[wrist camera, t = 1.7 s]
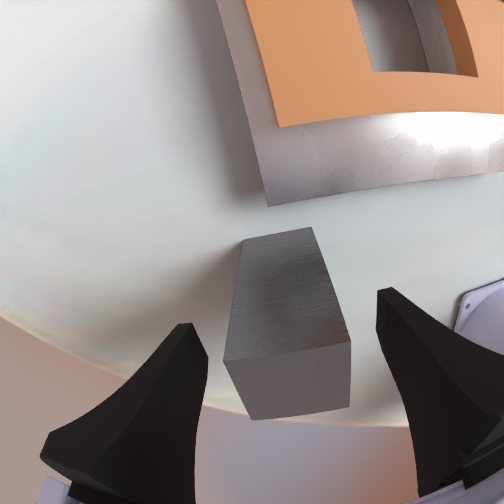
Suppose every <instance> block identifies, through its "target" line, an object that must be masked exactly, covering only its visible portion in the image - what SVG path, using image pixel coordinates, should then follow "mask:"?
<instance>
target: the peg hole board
mask: <svg viewBox="0 0 504 504" xmlns="http://www.w3.org/2000/svg"><path fill="white" fill-rule="evenodd" d="M407 1H408V3H409V6H410V9H411V11H412V14H413V17H414V20H415V23H416V26H417V29H418V32H419V36H420V39H421V43H422V46H423V50H424V54H425V58H426V62H427V66H428V70H429V73H443V74H454V75H458V74H457V70H456V65H455V61H454V57H453V53H452V49H451V45H450V42H449V38H448V35H447V32H446V28H445V25H444V22H443V19H442V16H441V14H440V11H439V8H438V5H437V3H436V0H407ZM216 3H217V6H218V10H219V13H220V17H221V20H222V24H223V28H224V31H225V35H226V38H227V42H228V46H229V49H230V53H231V57H232V61H233V64H234V68H235V72H236V76H237V80H238V83H239V87H240V91H241V95H242V99H243V103H244V107H245V111H246V115H247V119H248V123H249V127H250V131H251V135H252V139H253V143H254V147H255V152H256V156H257V160H258V164H259V168H260V173H261V177H262V181H263V186H264V190H265V194H266V199H267V203H268V207H271V206H276V205H281V204H286V203H291V202H296V201H302V200H307V199H313V198H318V197H324V196H329V195H335V194H341V193H347V192H353V191H359V190H365V189H371V188H378V187H384V186H391V185H398V184H404V183H412V182H419V181H426V180H434V179H442V178H450V177H458V176H467V175H476V174H486V173H496V172H504V115H498V114H485V113H466V112H413V113H393V114H378V115H367V116H357V117H348V118H339V119H332V120H324V121H317V122H311V123H305V124H299V125H293V126H287V127H282V128H279V127H277V122H276V118H275V114H274V110H273V105H272V101H271V97H270V93H269V89H268V85H267V81H266V77H265V74H264V70H263V66H262V62H261V59H260V55H259V51H258V48H257V44H256V41H255V37H254V34H253V30H252V27H251V23H250V20H249V17H248V13H247V10H246V7H245V3H244V0H216Z"/></svg>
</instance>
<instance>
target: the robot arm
mask: <svg viewBox="0 0 504 504" xmlns="http://www.w3.org/2000/svg"><path fill="white" fill-rule="evenodd" d="M376 332H377V335H378V339H379V342H380V345H381V349H382V352H383V354H384V356H385V359H386V361H387V363H388V366H389V368H390V370H391V373H392V375H393V377H394V380H395V382H396V385H397V387H398V389H399V392H400V394H401V397H402V400H403V403H404V406H405V410H406V414H407V418H408V422H409V427H410V431H411V436H412V441H413V447H414V453H415V460H416V470H417V482H418V494H419V498H418V499H415V500H413V501H410V502H407V503H404V504H504V280H502V281H499V282H496V283H494V284H491V285H488V286H485V287H483V288H480V289H477V290H474V291H471V292H468V293H466V294H465V295H464V296H463V298H462V301H461V305H460V309H459V313H458V317H457V321H456V325H455V328H454V331H452V330H451V329H449V328H448V327H446V326H445V325H443V324H442V323H440V322H439V321H437V320H436V319H434V318H433V317H431V316H430V315H429V314H427V313H426V312H424V311H423V310H422V309H420V308H419V307H418V306H416V305H415V304H414V303H412V302H411V301H410V300H409V299H407V298H406V297H405V296H403V295H402V294H401V293H399V292H398V291H397V290H396V289H394V288H393V287H390V288H385V289H381V290H377V318H376ZM207 373H208V355H207V353H206V351H205V349H204V347H203V345H202V343H201V341H200V339H199V337H198V335H197V333H196V330H195V328H194V326H193V324H192V323H184V324H178V325H177V326H176V327H175V328H174V329H173V330H172V331H171V333H170V334H169V335H168V336H167V337H166V339H165V340H164V341H163V342H162V343H161V344H160V346H159V347H158V348H157V349H156V350H155V352H154V353H153V354H152V355H151V356H150V357H149V359H148V360H147V361H146V362H145V363H144V364H143V365H142V366H141V367H140V368H139V369H138V370H137V372H136V373H135V374H134V375H133V376H132V377H131V378H130V379H129V380H128V381H127V382H126V383H125V384H124V385H123V386H122V387H120V388H119V389H118V390H117V391H116V392H115V393H113V394H112V395H111V396H110V397H108V398H107V399H106V400H104V401H103V402H102V403H100V404H99V405H98V406H96V407H95V408H94V409H92V410H91V411H89V412H88V413H86V414H85V415H83V416H81V417H80V418H78V419H76V420H74V421H73V422H71V423H69V424H67V425H65V426H62V427H60V428H58V429H56V430H54V431H52V432H50V433H49V435H48V437H47V439H46V442H45V444H44V446H43V449H42V451H41V453H40V458H41V460H42V461H43V462H44V463H46V464H47V465H48V466H50V467H51V468H52V469H54V470H55V471H57V472H59V473H60V474H61V475H63V476H65V477H66V478H68V479H69V480H71V481H72V483H71V486H69V485H67V484H65V483H63V482H61V481H59V480H57V479H55V478H53V477H51V476H49V475H46V477H45V480H44V482H43V485H42V488H41V491H40V494H39V497H38V500H37V502H36V504H196V503H195V476H194V467H195V445H196V433H197V425H198V421H199V416H200V411H201V407H202V402H203V397H204V392H205V387H206V382H207Z"/></svg>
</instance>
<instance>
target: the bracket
mask: <svg viewBox="0 0 504 504" xmlns="http://www.w3.org/2000/svg"><path fill="white" fill-rule="evenodd" d="M244 3H245V7H246V10H247V13H248V17H249V20H250V23H251V27H252V30H253V34H254V37H255V41H256V44H257V48H258V51H259V55H260V59H261V62H262V66H263V70H264V74H265V77H266V81H267V85H268V89H269V93H270V97H271V101H272V105H273V110H274V114H275V118H276V122H277V127H279V128H282V127H287V126H293V125H299V124H305V123H311V122H317V121H324V120H332V119H339V118H348V117H357V116H367V115H378V114H393V113H413V112H466V113H485V114H498V115H504V3H503V2H501V1H499V0H436V3H437V5H438V8H439V11H440V14H441V16H442V19H443V22H444V25H445V28H446V32H447V35H448V38H449V42H450V45H451V49H452V53H453V57H454V61H455V65H456V70H457V74H458V75H454V74H443V73H429V72H399V71H391V72H373V69H372V65H371V61H370V57H369V54H368V50H367V46H366V43H365V39H364V36H363V33H362V29H361V26H360V23H359V20H358V17H357V14H356V11H355V8H354V6H353V3H352V0H244Z"/></svg>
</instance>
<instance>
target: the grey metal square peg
mask: <svg viewBox="0 0 504 504" xmlns="http://www.w3.org/2000/svg"><path fill="white" fill-rule="evenodd" d="M223 362H224V364H225V366H226V368H227V371H228V373H229V375H230V377H231V379H232V381H233V383H234V385H235V387H236V389H237V392H238V394H239V396H240V398H241V400H242V402H243V404H244V406H245V408H246V410H247V412H248V414H249V416H250V418H251V419H252V420H263V419H274V418H283V417H292V416H299V415H306V414H313V413H319V412H325V411H330V410H336V409H341V408H346V407H349V403H350V378H351V340H350V337H349V334H348V330H347V327H346V324H345V321H344V318H343V315H342V312H341V308H340V305H339V302H338V299H337V296H336V293H335V291H334V288H333V285H332V282H331V279H330V276H329V273H328V270H327V268H326V265H325V262H324V259H323V257H322V254H321V251H320V248H319V246H318V243H317V240H316V238H315V235H314V232H313V230H312V227H308V228H303V229H298V230H292V231H287V232H282V233H277V234H271V235H266V236H261V237H256V238H251V239H246V240H243V245H242V251H241V256H240V262H239V268H238V274H237V280H236V286H235V291H234V297H233V303H232V309H231V315H230V321H229V327H228V333H227V339H226V346H225V352H224V358H223Z"/></svg>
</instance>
